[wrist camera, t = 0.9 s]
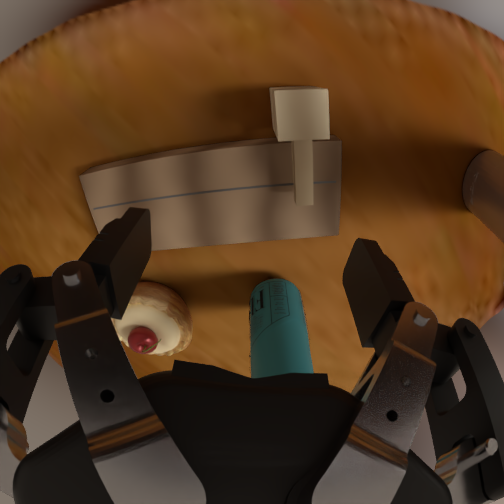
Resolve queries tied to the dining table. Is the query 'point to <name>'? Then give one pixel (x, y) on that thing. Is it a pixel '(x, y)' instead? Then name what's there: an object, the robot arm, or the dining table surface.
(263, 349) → the beverage bottle
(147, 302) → the pastry
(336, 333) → the dining table surface
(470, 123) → the dining table surface
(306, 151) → the beige cube mallet
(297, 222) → the board
